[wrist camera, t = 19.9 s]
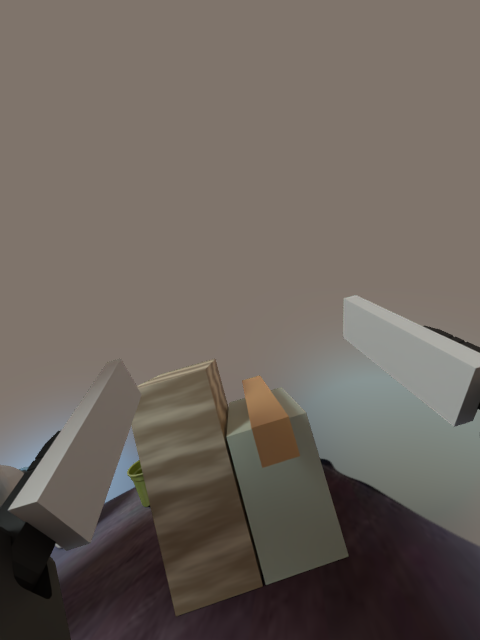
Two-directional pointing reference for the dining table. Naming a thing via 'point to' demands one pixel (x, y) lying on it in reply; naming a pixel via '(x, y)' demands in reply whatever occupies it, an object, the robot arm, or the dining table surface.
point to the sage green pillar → (285, 497)
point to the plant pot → (139, 482)
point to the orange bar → (269, 424)
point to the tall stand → (194, 487)
